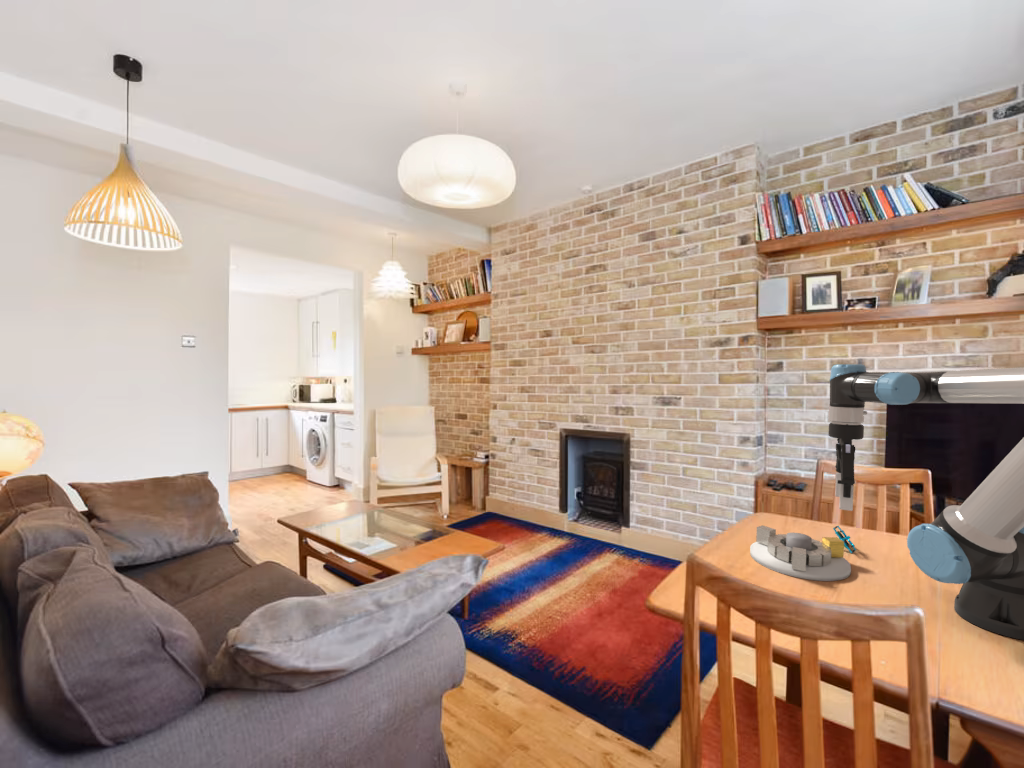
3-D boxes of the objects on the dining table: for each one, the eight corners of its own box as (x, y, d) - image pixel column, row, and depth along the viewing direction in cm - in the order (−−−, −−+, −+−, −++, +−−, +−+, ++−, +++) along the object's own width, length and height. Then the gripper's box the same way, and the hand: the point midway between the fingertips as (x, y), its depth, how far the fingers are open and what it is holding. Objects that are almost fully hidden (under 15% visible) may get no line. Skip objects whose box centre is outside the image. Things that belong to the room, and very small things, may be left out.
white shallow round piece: (873, 581, 119) (874, 554, 119) (778, 580, 120) (779, 553, 119) (814, 544, 143) (815, 522, 143) (735, 543, 144) (735, 521, 143)
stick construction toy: (861, 550, 134) (842, 524, 137) (837, 560, 136) (818, 535, 139) (855, 548, 144) (837, 524, 148) (832, 557, 146) (815, 534, 150)
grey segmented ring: (868, 572, 121) (868, 555, 120) (793, 571, 121) (794, 554, 121) (815, 540, 142) (816, 525, 142) (752, 539, 142) (752, 525, 142)
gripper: (870, 429, 110) (867, 518, 111) (858, 419, 132) (855, 494, 133) (832, 427, 114) (829, 513, 115) (826, 417, 136) (823, 490, 137)
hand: (843, 503), depth 124 cm, fingers open, 13 cm apart
